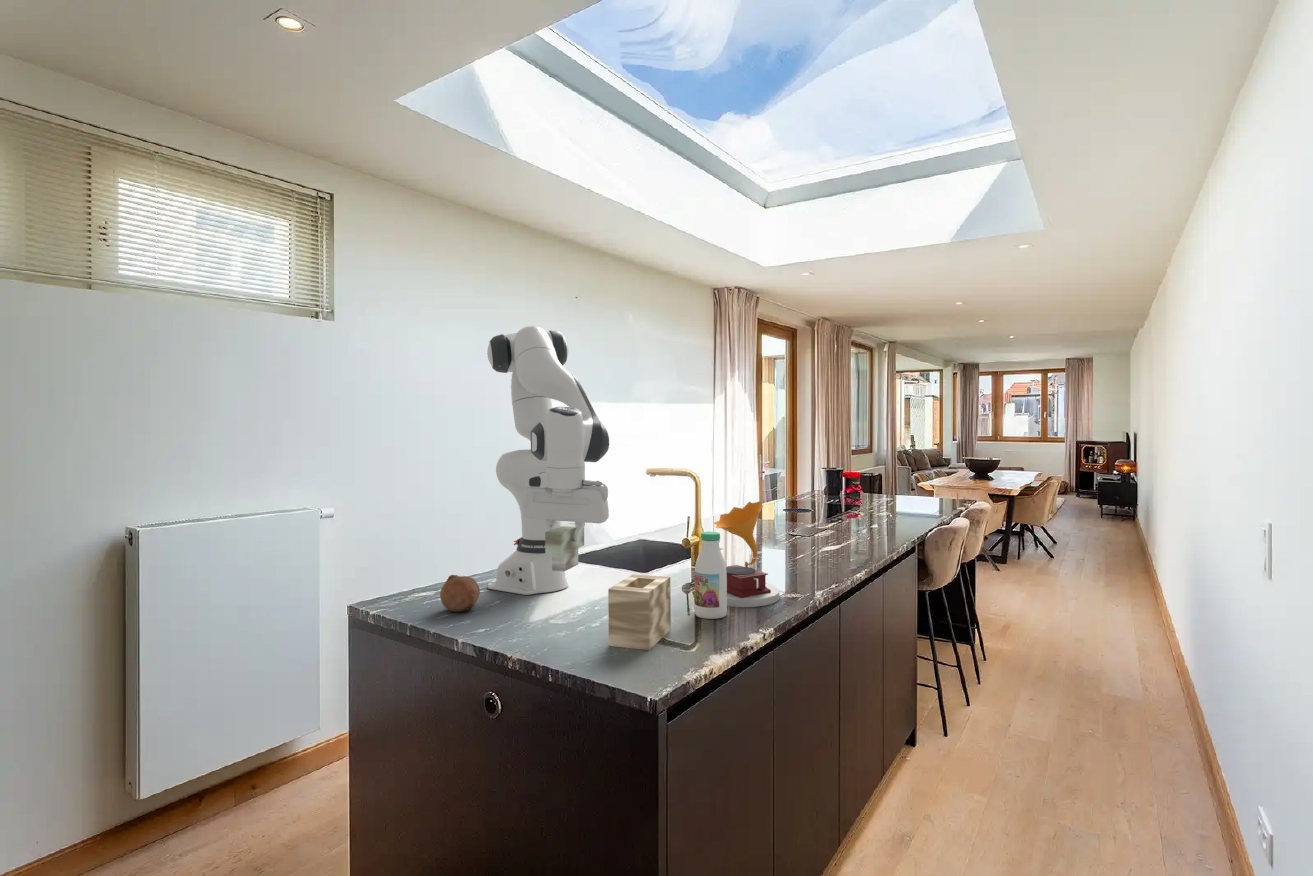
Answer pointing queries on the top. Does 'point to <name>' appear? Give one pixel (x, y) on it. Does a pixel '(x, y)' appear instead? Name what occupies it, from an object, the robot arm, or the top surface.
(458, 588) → the onion
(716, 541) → the milk bottle
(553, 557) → the rail end
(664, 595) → the wooden square frame
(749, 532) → the gramophone
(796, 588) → the top surface
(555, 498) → the robot arm
